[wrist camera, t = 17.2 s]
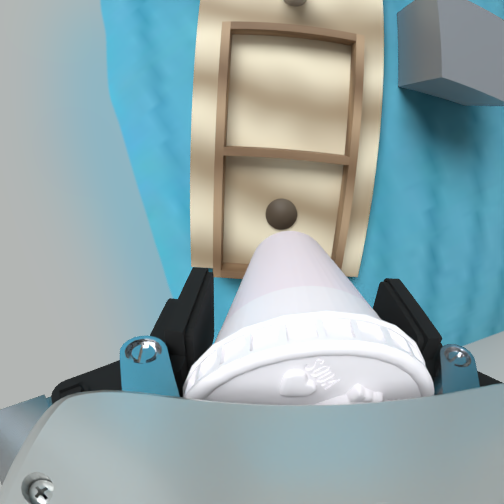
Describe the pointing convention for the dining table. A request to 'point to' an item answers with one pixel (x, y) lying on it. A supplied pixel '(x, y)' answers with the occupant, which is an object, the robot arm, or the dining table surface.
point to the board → (284, 127)
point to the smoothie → (305, 338)
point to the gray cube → (452, 51)
